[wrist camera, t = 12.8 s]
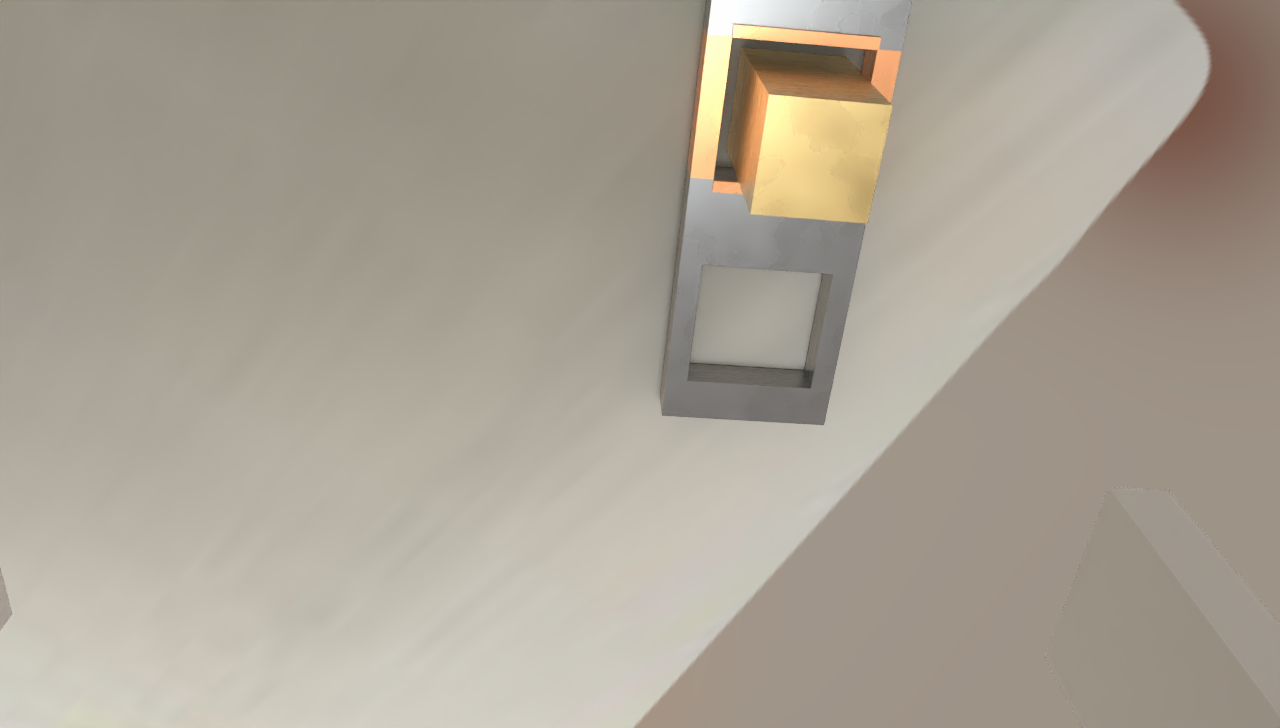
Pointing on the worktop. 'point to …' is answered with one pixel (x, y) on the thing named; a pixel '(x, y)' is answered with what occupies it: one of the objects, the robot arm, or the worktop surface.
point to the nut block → (806, 135)
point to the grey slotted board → (732, 237)
